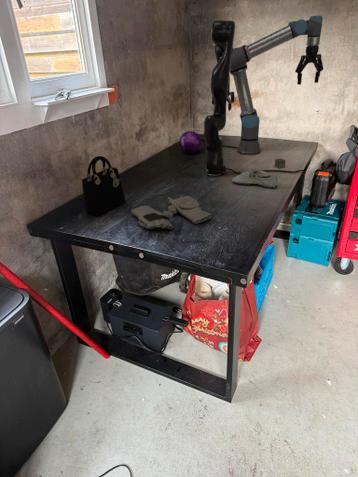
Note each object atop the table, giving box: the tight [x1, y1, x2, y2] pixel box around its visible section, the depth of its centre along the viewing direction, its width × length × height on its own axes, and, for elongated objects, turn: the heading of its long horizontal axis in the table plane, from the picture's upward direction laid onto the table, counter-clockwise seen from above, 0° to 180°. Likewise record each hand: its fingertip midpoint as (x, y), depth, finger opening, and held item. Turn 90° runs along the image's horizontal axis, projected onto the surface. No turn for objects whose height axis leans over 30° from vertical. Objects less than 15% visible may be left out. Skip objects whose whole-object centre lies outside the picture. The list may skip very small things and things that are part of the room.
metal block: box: [274, 158, 287, 169], centre depth 197 cm, size 4×4×4 cm
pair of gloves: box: [130, 195, 212, 230], centre depth 145 cm, size 30×26×5 cm
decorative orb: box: [178, 130, 202, 154], centre depth 230 cm, size 15×15×15 cm
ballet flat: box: [231, 169, 279, 189], centre depth 173 cm, size 8×24×8 cm, turn 61°
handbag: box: [81, 155, 126, 217], centre depth 153 cm, size 21×9×25 cm, turn 148°
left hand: (223, 111), depth 202 cm, fingers open, 8 cm apart
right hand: (307, 83), depth 213 cm, fingers open, 13 cm apart
